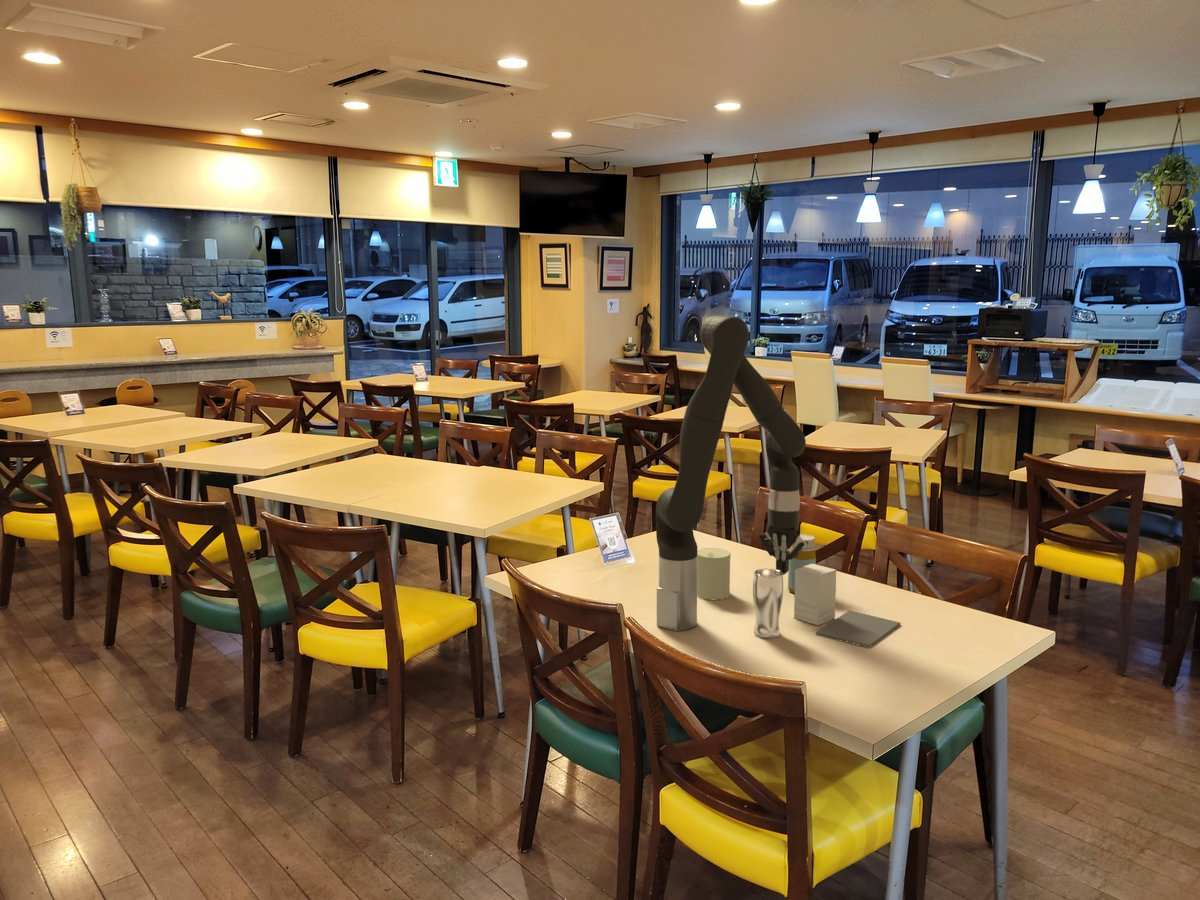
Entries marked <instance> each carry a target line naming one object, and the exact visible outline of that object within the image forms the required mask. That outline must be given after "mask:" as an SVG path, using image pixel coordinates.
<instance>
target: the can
mask: <svg viewBox="0 0 1200 900" xmlns="http://www.w3.org/2000/svg"><path fill="white" fill-rule="evenodd" d="M730 585H731V551H730V550H728V549H725V548H718V547H706V548H701V549H697V598H699V597H700V599H702V598H703V599H702V600H706V599H709V600H708V601H712V600H711V599H715V600H714V601H717V600H716V599H722V600H725V599H724V598H726V599H728V598H730V596H731V589H730V587H731V586H730ZM727 597H728V598H727Z"/></svg>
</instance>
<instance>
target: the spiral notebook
mask: <svg viewBox="0 0 1200 900" xmlns="http://www.w3.org/2000/svg"><path fill="white" fill-rule="evenodd" d="M900 626H901V622H900V621H896V620H891V619H887V618H883V617H879V616H875V615H871V614H866V613H862V612H857V611H854V610H848V611H846V612H844V613H843V614H841V615H839V616H838V617H836V618H834V619H833V620H831V621H829V623H827V624H825V625H824V626H822V627H821V628H819V629H817V630H816V631H815V635H817V634H819V635H818V636H821V635H822V637H825V638H829V637H830V639H833V638H834V639H833V640H836V639H838V640H837V641H840V640H842V641H841V642H844V641H848V642H851V643H855V644H859V645H862V646H861V647H863V646H866V647H865V648H867V647H870V646H871V645H872V646H874V645H875V644H877V643H878V642H879V641H880V640H882V639H883V638H885V637H886V636H888V633H889V634H890V633H892V632H893V631H894V630H895V629H897V628H898V627H900ZM881 638H882V639H881ZM877 641H878V642H877ZM848 642H847V643H848ZM851 643H850V644H851ZM874 643H875V644H874ZM855 644H854V645H855ZM873 644H874V645H873ZM859 645H858V646H859ZM872 646H871V647H872ZM871 647H870V648H871Z"/></svg>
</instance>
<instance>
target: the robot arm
mask: <svg viewBox="0 0 1200 900" xmlns="http://www.w3.org/2000/svg"><path fill="white" fill-rule="evenodd" d="M701 324H702V325H701V326H700V330H699V338H700V342H701V345H702V346H703V348H704V349H705V350H706V351H707V352H708V353H709V355H710V356H709V360H708V365H707V369H706V371H705V374H704V376H703V378H702V380H701V382H700V383H699V385H698V386H697V388H696V390H695V391H694V393H693V395H692V396H691V397H690V399H689V401H688V403H687V405H686V408H685V412H684V416H683V419H682V423H681V428H680V432H679V469H678V474H677V478H676V480H675V481H676V482H675V485H674V487H669V488H667V489H665V490H664V491H662V492H661V494H660V495H659V496H658V498H657V501H656V506H655V531H656V532H655V533H656V535H655V536H656V543H657V546H658V587H657V588H656V626H657V627H661V628H664V629H667V630H669V631H674V632H679V631H682V630H683V631H684V630H690V629H693V628H694V627H696V626H697V624H698V623H697V621H698V617H697V616H698V596H697V551H698V543H697V542H696V539H695V535H694V529H695V528H696V527H697V526H698V524H699V522H700V520H701V519H702V515H703V511H704V505H705V499H706V492H707V485H708V481H709V475H710V471H711V468H712V466H713V462H714V458H715V453H716V450H717V447H718V443H719V440H720V436H721V433H722V429H723V425H724V421H725V418H726V413H727V409H728V405H729V402H730V399H731V394H732V390H733V387H735V388H736V389H737V392H739V394H740V395H741V397H742V399H743V400H744V402H745V404H746V406H747V408H748V409H749V410H750V412H751V414H752V416H753V418H754V419H755V421H756V422H757V423H758V425H759V426H760V427H762V428H763V429H764V430H767V431H768V432H767V435H766V437H765V451H766V458H767V463H768V466H769V471H770V479H769V480H770V481H769V493H768V509H767V510H768V517H767V518H768V521H767V522H768V523H767V524H768V527H767V528H766V532H764V533H762V534H759V536H758V538H759V540H760V542H761V543H762V545H763V546H764V548H765V550H766V552H767V553H768V555H769V556H771V557H774V558H775V569H776V570H779V571H781V572H782V573H783V576H784V575H785V574H788V570H789V560H791V559H793V558H796V557H797V556H798V554H799V553H800V552H801V551H802V550H803V549H804V548H805V547H806V546H807V544H808V542H807V541H806V540H805V541H804V540H803V539H802V538H801V537H800V534H801V532H800V531H799V526H800V507H801V503H800V502H801V501H800V500H801V497H800V469H799V468H798V466H797V465H795V463H794V462H793V458H797V457H798V456H800V455H802V454H803V453H804V451H805V449H806V446H807V445H806V444H807V443H806V436H805V434H804V432H803V430H802V429H801V428H800V426H799V424H797V422H796V421H795V420H794V419H793V418H792V417H791V416H790V414H788V412H787V411H786V410H785V409H784V407H783V405H782V403H781V402H780V400H779V398H778V396H777V395H776V392H775V391H774V390H773V388H772V387H771V385H770V384H769V383H768V382H767V380H766V379H765V378H764V377H763V376H762V375H761V373H759V372H758V370H756V368H755V367H754V366H753V365H752V364H751V363H750V361H749V359H748V358H747V357H746V355H745V352H746V350H747V347H748V343H749V338H750V335H749V334H750V331H749V327H748V325H747V323H746V322H745V321H744V319H741V318H740V317H738V316H733V315H724V314H723V315H721V314H716V315H712V316H710V317H707V318H706V319H705V320H704V321H703V323H701ZM796 541H797V542H796ZM795 542H796V547H795V549H794V550H793V551H792V552H791V550H792V545H793V544H794V543H795Z"/></svg>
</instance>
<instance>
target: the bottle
mask: <svg viewBox="0 0 1200 900" xmlns="http://www.w3.org/2000/svg"><path fill="white" fill-rule="evenodd" d="M800 537H801V538H802V539H803V540H804V541H805V540H806V541H807V542H808V544H807V546H806V547H805V548H804V549H803V550H802V551H801V552H800V553H799V554H798V556H797V557H796V558H793V559H791V560H789V570H788V572H787V589H788V590H789V592H790V593H792V594H794V593H795V569H798V568H801V567H804V566H807V565H810V564H816V560H817V557H816V556H817V555H816V552H815V545H816V541H815V540H816V538H815V536H814V535H811V534H807V533H806V534H805V533H800ZM796 542H797V541H796ZM796 542H795V543H794V544H793V545H792V550H791V552H792V551H793V550H794V549H795V547H796ZM816 565H817V564H816Z"/></svg>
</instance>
